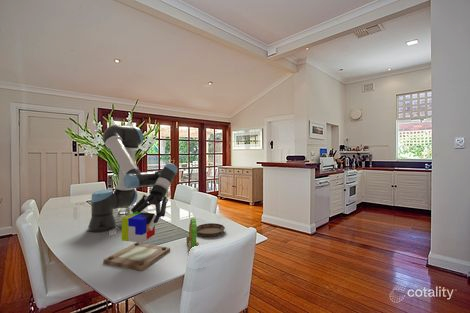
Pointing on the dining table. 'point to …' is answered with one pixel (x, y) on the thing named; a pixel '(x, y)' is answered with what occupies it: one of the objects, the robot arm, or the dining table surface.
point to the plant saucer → (210, 229)
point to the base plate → (137, 256)
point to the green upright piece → (192, 234)
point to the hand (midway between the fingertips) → (139, 227)
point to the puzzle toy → (137, 227)
